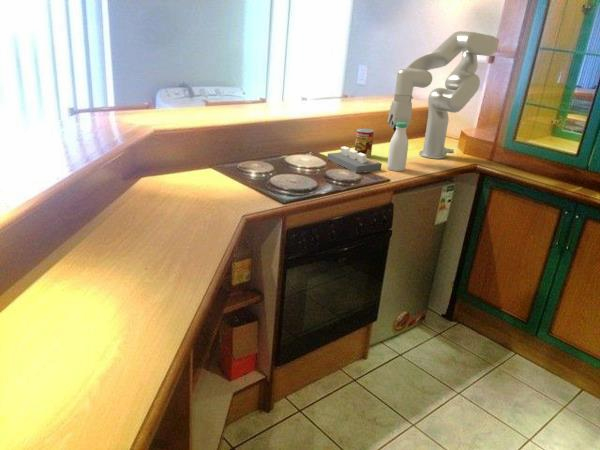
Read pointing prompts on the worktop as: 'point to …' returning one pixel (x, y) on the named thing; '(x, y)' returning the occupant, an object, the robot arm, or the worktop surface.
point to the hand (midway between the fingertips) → (397, 140)
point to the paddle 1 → (345, 150)
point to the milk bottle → (398, 148)
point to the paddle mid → (353, 154)
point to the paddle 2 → (361, 157)
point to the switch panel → (355, 163)
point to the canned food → (364, 141)
